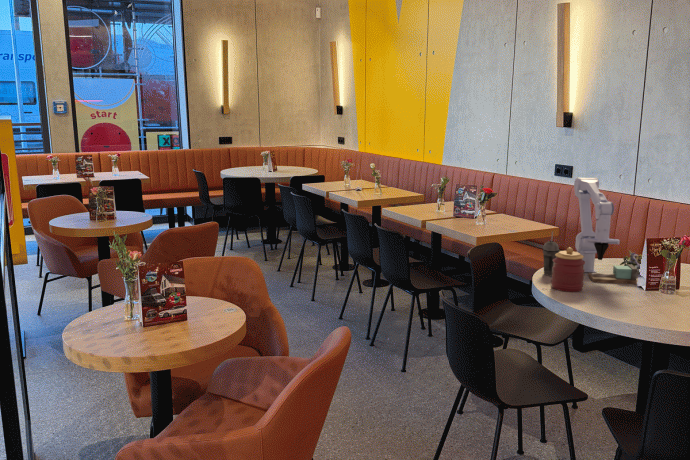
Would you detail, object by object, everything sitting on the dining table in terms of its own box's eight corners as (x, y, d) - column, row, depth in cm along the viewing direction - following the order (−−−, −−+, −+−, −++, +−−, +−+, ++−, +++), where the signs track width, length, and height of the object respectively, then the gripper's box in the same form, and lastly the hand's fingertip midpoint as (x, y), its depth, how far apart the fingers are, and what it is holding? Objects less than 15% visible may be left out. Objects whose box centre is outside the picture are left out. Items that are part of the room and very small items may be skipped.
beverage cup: (539, 275, 274) (542, 232, 270) (542, 271, 280) (545, 229, 276) (556, 277, 270) (559, 233, 267) (558, 273, 277) (561, 231, 273)
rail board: (593, 282, 263) (594, 267, 262) (587, 276, 272) (589, 262, 271) (636, 284, 260) (638, 269, 259) (630, 277, 270) (631, 263, 268)
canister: (581, 284, 259) (584, 245, 255) (584, 293, 247) (588, 252, 243) (549, 282, 262) (552, 243, 259) (551, 291, 250) (554, 250, 246)
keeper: (616, 278, 263) (617, 268, 262) (612, 274, 269) (613, 265, 268) (630, 278, 262) (631, 269, 261) (626, 275, 268) (627, 265, 267)
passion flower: (638, 284, 278) (641, 268, 270) (614, 276, 285) (616, 259, 276) (647, 267, 284) (650, 251, 275) (624, 260, 290) (626, 243, 281)
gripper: (587, 230, 259) (584, 260, 262) (622, 231, 257) (619, 262, 259) (583, 227, 266) (581, 257, 268) (618, 228, 263) (615, 258, 266)
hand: (599, 259), depth 264 cm, fingers closed
